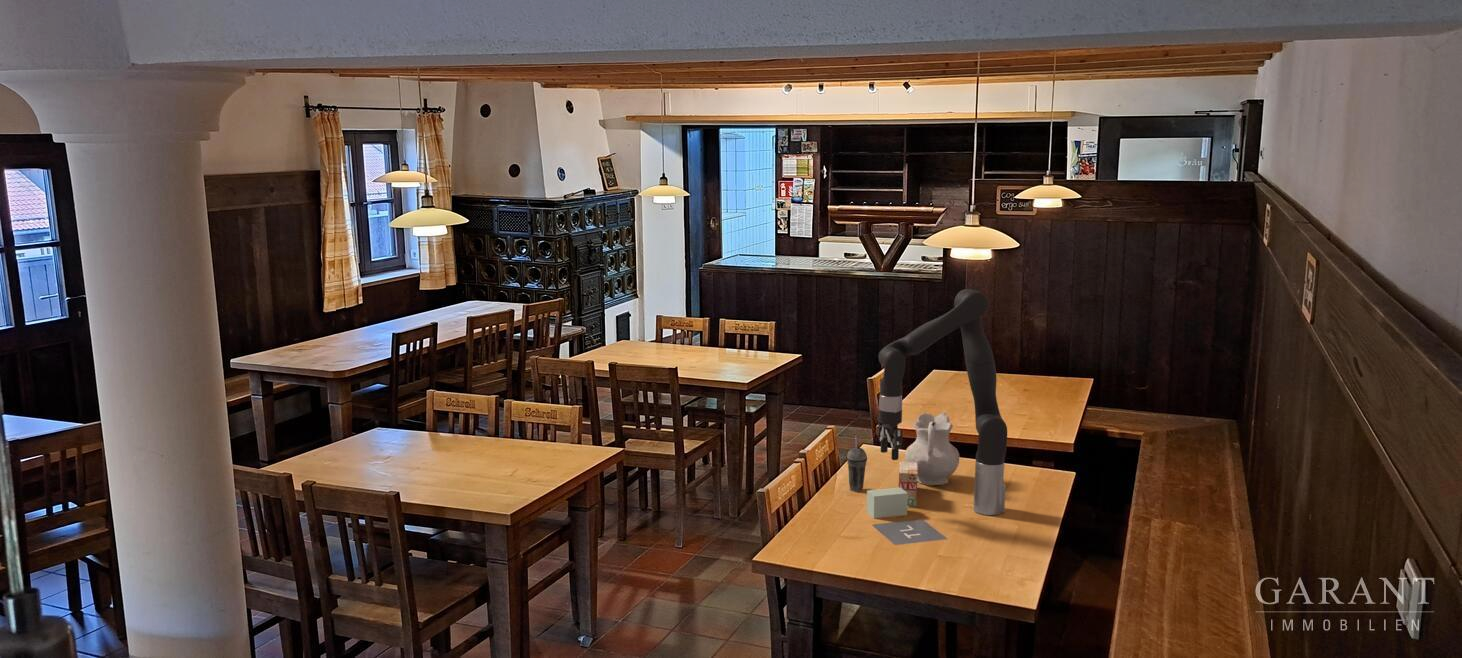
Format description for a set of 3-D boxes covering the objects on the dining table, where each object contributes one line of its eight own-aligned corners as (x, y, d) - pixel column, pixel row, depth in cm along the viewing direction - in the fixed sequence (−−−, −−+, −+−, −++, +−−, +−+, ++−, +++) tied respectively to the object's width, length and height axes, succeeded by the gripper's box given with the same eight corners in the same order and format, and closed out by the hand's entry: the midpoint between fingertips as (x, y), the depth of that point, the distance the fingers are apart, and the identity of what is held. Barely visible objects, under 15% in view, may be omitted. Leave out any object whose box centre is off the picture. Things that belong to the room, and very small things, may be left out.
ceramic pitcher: (962, 494, 370) (970, 426, 366) (907, 490, 370) (915, 422, 366) (950, 475, 392) (958, 411, 387) (898, 471, 392) (906, 406, 387)
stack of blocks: (898, 486, 376) (899, 453, 374) (916, 487, 375) (917, 454, 373) (897, 506, 355) (898, 472, 353) (916, 508, 354) (917, 473, 352)
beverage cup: (869, 488, 373) (871, 434, 370) (861, 494, 367) (862, 439, 363) (851, 485, 377) (852, 431, 373) (842, 490, 371) (843, 436, 367)
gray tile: (922, 520, 342) (922, 519, 342) (948, 539, 325) (948, 538, 325) (871, 525, 337) (871, 524, 337) (894, 545, 320) (894, 544, 320)
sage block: (866, 513, 349) (866, 490, 347) (899, 510, 352) (900, 487, 350) (873, 519, 343) (874, 496, 341) (907, 516, 346) (907, 493, 345)
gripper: (871, 403, 347) (870, 450, 349) (889, 414, 333) (887, 463, 336) (891, 402, 349) (890, 449, 351) (910, 412, 335) (909, 461, 338)
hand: (889, 456), depth 344 cm, fingers open, 8 cm apart
